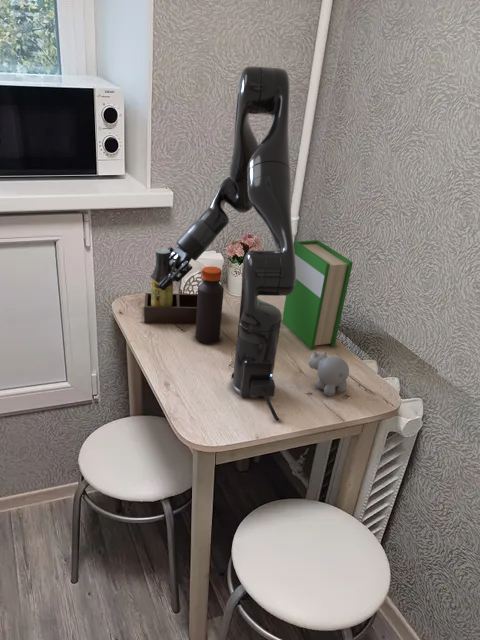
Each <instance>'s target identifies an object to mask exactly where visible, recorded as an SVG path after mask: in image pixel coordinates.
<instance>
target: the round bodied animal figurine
mask: <svg viewBox="0 0 480 640" xmlns="http://www.w3.org/2000/svg"><path fill="white" fill-rule="evenodd" d="M327 354H328V353H327V350H326V349H325V350H324V351H323V352H322V353H318V352H312V353H311V356H310V359H309V360H308V366H309V368H311V369H314V370H315V371H317V372H316V373H317V376H318V379H317V381H316V383H315V387H316V388H317V389H318V390H321V391H322V390H323V394H324V395H326V396H327V397H328V396H329V397H331V396H334V395H335V393H336V391H337V392H338V393H344V392H346V391H347V389H348V382H347V380H348V377H349V374H350V368H349V364H348V363H347V362H346V361H345V359H344V358H342V357H339V356H336V355H331V356H330V355H329V356H328V355H327Z"/></svg>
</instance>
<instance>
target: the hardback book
mask: <svg viewBox="0 0 480 640" xmlns="http://www.w3.org/2000/svg"><path fill="white" fill-rule="evenodd" d="M293 244H294V253H295V264H296V281H295V286H294V289H293V291H292V293H291V294H289V295H285V300H284V306H283V313H282V319H281V322H283V323H284V324H285V326H287V327H288V329H290V331H292V332H293V334H294V335H296V336H297V337H298V338H299V340H301V341H302V342H303V343H304V344H305V345H306V346H307V347H308V348H309V349H310V350H314V349H315V346H322V345H329V346H330V347H335V346H336V341H337V337H338V333H339V327H340V323H341V319H342V314H343V309H344V304H345V301H346V296H347V291H348V287H349V282H350V277H351V273H352V270H353V269H352V267H353V263H354V262H353V261H351V260H350V259H349V258H347V257H346V256H344V255H342V254H340V253H339V252H338V251H337V250H335V249H333V248H331V247H330V246H328V245H327V244H325V243H324V242H322V241H320V240H319V239H314V240H300V241H297V240H296V241H293Z"/></svg>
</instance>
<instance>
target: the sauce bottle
mask: <svg viewBox="0 0 480 640" xmlns="http://www.w3.org/2000/svg"><path fill="white" fill-rule="evenodd" d="M169 258H170V250H168V248H158V249H155V266H154V270H153V272H152V274H153V275H152V274H151V275H152V278H151V280H150V281H151V283H150V284H151V285H150V287H151V288H150V293H151V306H165V307H172V300H173V294H174V293H173V292H174V281H172V282H171V283H170V285H169V286H168V287H167V288H166V289H165V290H162V289H161V288H160V287H159V286H158V285H159V283H160V282H161V281H162V280H163V279H164V278H165V277H166V276H167V275H168V273H169V271H170V267H169V265H170V264H169ZM167 277H168V276H167Z"/></svg>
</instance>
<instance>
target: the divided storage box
mask: <svg viewBox="0 0 480 640" xmlns="http://www.w3.org/2000/svg"><path fill="white" fill-rule="evenodd" d="M197 296H198V293H173V300H172V307H165V306H151V292H145V294H144V305H143V319H144V321H143V323H144V324H173V325H174V324H176V325H177V324H180V325H182V324H183V325H196V315H197Z"/></svg>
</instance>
